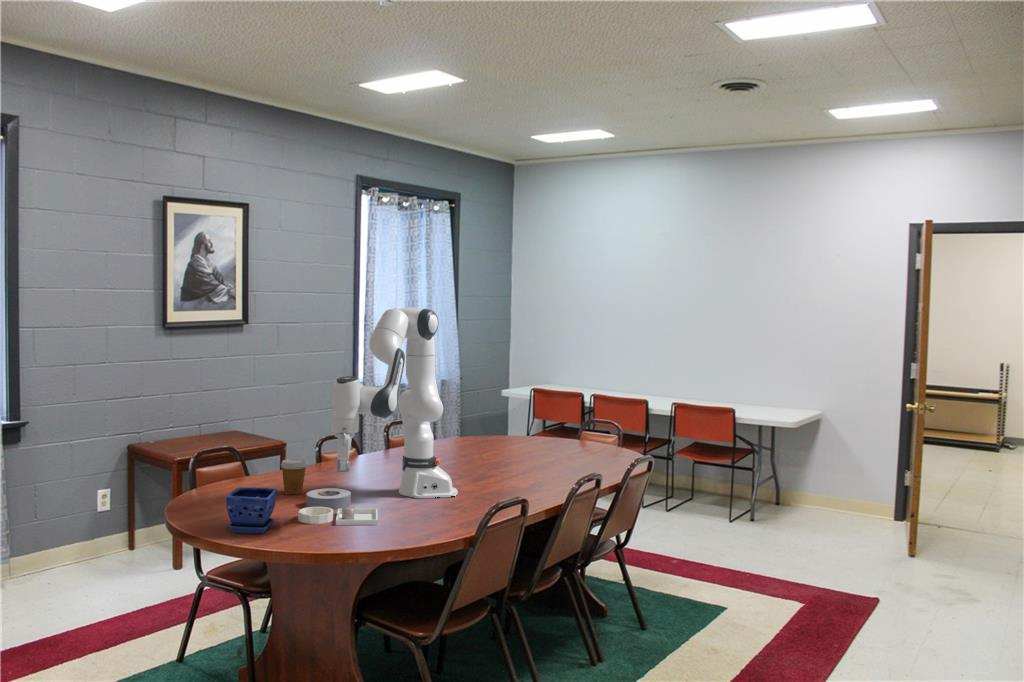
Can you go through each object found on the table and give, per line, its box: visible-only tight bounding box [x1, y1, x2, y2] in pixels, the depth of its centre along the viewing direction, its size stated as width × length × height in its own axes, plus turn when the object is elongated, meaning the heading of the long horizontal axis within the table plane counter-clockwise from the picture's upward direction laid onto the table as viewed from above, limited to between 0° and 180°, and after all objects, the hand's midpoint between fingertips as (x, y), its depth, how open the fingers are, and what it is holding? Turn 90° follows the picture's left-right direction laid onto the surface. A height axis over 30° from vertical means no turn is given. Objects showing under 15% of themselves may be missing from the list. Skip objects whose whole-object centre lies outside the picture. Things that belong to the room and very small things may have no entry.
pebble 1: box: [336, 459, 351, 473], centre depth 273 cm, size 4×4×4 cm
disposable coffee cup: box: [280, 458, 308, 495], centre depth 309 cm, size 10×10×12 cm
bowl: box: [297, 506, 334, 525], centre depth 273 cm, size 11×11×4 cm
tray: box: [335, 507, 379, 526], centre depth 275 cm, size 13×15×2 cm
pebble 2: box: [342, 506, 356, 520], centre depth 274 cm, size 4×4×4 cm
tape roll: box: [305, 487, 352, 511], centre depth 292 cm, size 15×15×5 cm
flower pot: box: [225, 486, 278, 534], centre depth 261 cm, size 13×13×12 cm
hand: (343, 468), depth 273 cm, fingers closed on pebble 1, 4 cm apart
